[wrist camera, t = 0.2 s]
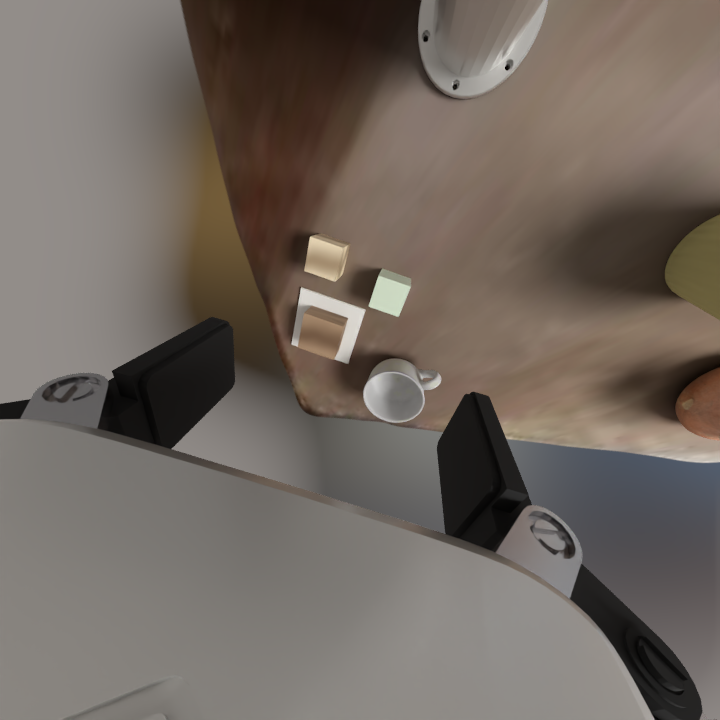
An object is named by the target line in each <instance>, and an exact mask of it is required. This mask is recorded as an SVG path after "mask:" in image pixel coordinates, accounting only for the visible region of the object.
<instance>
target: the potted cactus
mask: <svg viewBox="0 0 720 720" xmlns="http://www.w3.org/2000/svg"><path fill="white" fill-rule="evenodd" d="M665 280H666V283H667V285H668V287H669V288H670V289H671V290H672V292H674V293H676V294H677V295H678V296H680V297H681V298H683V299H685V300H687V301H688V302H690V303H692V304H693V305H695V306H697V307H698V308H700V309H702V310H704V311H705V312H707V313H709V314H710V315H712V316H714V317H715V318H717V319H719V320H720V215H717V216H715V217H713V218H711V219H709V220H707V221H706V222H704V223H702V224H701V225H699V226H698V227H696V228H695V229H694V230H692V231H691V232H690V233H689V234H688V235H687V236H686V237H684V238H683V240H682V241H681V242H680V243H679V244H678V245H677V246H676V248H675V249H674V251H673V252H672V254H671V255H670V257H669V259H668V262H667V264H666V268H665Z"/></svg>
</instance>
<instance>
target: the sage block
mask: <svg viewBox="0 0 720 720" xmlns="http://www.w3.org/2000/svg"><path fill="white" fill-rule="evenodd" d="M410 287H411V278H408V277H405V276H402V275H399V274H396V273H393V272H391V271H388V270H385V269H382V270H381V272H380V274H379V276H378V279H377V282H376V285H375V288H374V291H373V294H372V297H371V300H370V303H369V307H371V308H374V309H377V310H380V311H383V312H386V313H389V314H392V315H394V316H397V317H399V315H400V312H401V310H402V307H403V305H404V302H405V300H406V297H407V295H408V292H409V290H410Z"/></svg>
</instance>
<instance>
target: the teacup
mask: <svg viewBox="0 0 720 720" xmlns="http://www.w3.org/2000/svg"><path fill="white" fill-rule="evenodd" d="M428 377H432V378H433V379H432V380H430V381H427V382H424V381H423V379H422V378H428ZM440 382H441V376H440V374H439V373H438V372H437V371H435V370H421V369H420V370H418V369H417V368H416V367H415V366H414V365H413V364H411V363H410V362H408V361H406V360H402V359H387V360H385V361H382V362H380V363H379V364H378V365H377V366H375V368H374V369H373V370H372V372H371V374H370V376H369V378H368V381H367V383H366V385H365V387H364V390H363V397H364V402H365V404H366V407H367V408H368V409H369V410H370V412H371V413H373V414H374V415H375V416H376V417H378V418H380V419H382V420H385V421H389V422H397V423H398V422H406V421H409V420H411V419H413V418H414V417H416V416H417V415H418V414H419V413H420V412H421V411H422V409H423V406H424V390H430V389H433V388H436V387H437V386H438V385H439V384H440Z"/></svg>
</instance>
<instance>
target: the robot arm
mask: <svg viewBox="0 0 720 720" xmlns="http://www.w3.org/2000/svg"><path fill="white" fill-rule="evenodd" d="M547 4H548V0H421V5H420V10H419V22H418V43H419V50H420V56H421V60H422V63H423V67H424V69H425V71H426V73H427V75H428V77H429V79H430V80H431V81H432V83H433V84H434V85H435V86H436V88H438V89H439V90H440V91H442V92H443V93H444V94H446V95H448V96H451V97H453V98H459V99H470V98H476V97H479V96H481V95H484V94H487V93H488V92H490V91H492V90H493V89H495V88H497V87H498V86H499V85H500V84H502V83H503V82H504V81H505V80H506V79H507V78H508V77H509V76H510V75H511V74H512V73H513V72H514V71H515V69H516V68H517V67H518V66H519V65H520V63H521V62H522V60H523V59H524V58H525V56H526V55H527V53H528V51H529V50H530V48H531V46H532V44H533V43H534V41H535V39H536V36H537V34H538V32H539V30H540V27H541V25H542V22H543V19H544V15H545V12H546V9H547ZM426 37H427V38H428V41H427V42H424V41H423V40H424V38H426ZM505 66H509V70H508V71H506V70H505ZM454 85H456V86H457V89H456V90H453V88H452V87H453V86H454ZM112 373H113V375H114V378H112V379H111V380H109V381H108V380H107V379H106V378H105V377H104V376H102V375H99V374H94V373H78V374H72V375H66V376H63V377H59V378H56V379H54V380H51V381H49V382H47V383H45V384H44V385H42V386H41V387H39V388H38V389H37V390H36V391H35V393H34V394H33V396H32V398H31V399H29V400H23V401H16V402H10V403H4V404H0V720H709V719H708V718H707V717H706V716H705V714H704V713H703V712H702V705H701V699H700V696H699V694H698V692H697V689H696V687H695V684H694V682H693V681H692V679H691V677H690V676H689V674H688V672H687V670H686V669H685V667H684V666H683V665H682V663H681V662H680V661H679V659H678V658H677V657H676V655H675V654H674V653H673V651H672V650H671V649H670V648H669V647H668V646H667V645H666V644H665V643H664V642H663V641H662V640H661V639H660V638H659V637H658V636H657V635H656V634H655V633H654V632H653V631H652V630H651V629H650V628H649V627H648V626H647V625H646V624H645V623H644V622H643V621H641V620H640V619H639V618H638V617H637V616H636V615H635V614H634V613H633V612H632V611H631V610H630V609H629V608H628V607H627V606H625V605H624V603H622V602H621V601H620V600H619V599H618V598H617V597H616V596H615V595H614V594H613V593H612V592H611V591H610V590H609V589H608V588H607V587H605V585H603V584H602V583H601V582H600V581H599V580H598V579H597V578H596V577H595V576H594V575H593V574H592V573H591V572H590V571H589V570H588V569H587V568H586V567H584V566H583V565H582V564H581V562H582V549H581V546H580V544H579V541H578V540H577V538H576V536H575V534H574V533H573V532H572V530H571V529H570V528H569V527H568V525H567V524H566V523H564V522H563V521H562V520H561V519H560V518H559V517H558V516H556V515H555V514H554V513H552V512H551V511H549V510H547V509H545V508H543V507H540V506H536V505H532V504H531V501H530V499H529V496H528V492H527V490H526V487H525V485H524V482H523V480H522V477H521V475H520V472H519V470H518V467H517V465H516V463H515V460H514V457H513V455H512V452H511V450H510V447H509V445H508V443H507V440H506V438H505V435H504V433H503V430H502V428H501V425H500V423H499V420H498V418H497V415H496V413H495V410H494V408H493V405H492V403H491V400H490V398H489V396H486V395H483V394H479V393H476V392H471V393H470V394H465V395H464V397H463V399H462V400H461V402H460V404H459V406H458V407H457V409H456V411H455V413H454V415H453V416H452V418H451V420H450V422H449V423H448V425H447V427H446V429H445V431H444V432H443V434H442V436H441V438H440V440H439V442H438V445H437V454H438V464H439V474H440V484H441V494H442V504H443V513H444V525H445V533H446V534H443V533H440V532H437V531H434V530H431V529H428V528H425V527H422V526H419V525H416V524H413V523H410V522H407V521H403V520H400V519H397V518H394V517H390V516H387V515H384V514H381V513H378V512H375V511H371V510H368V509H365V508H362V507H358V506H355V505H352V504H349V503H346V502H342V501H339V500H336V499H333V498H330V497H326V496H323V495H320V494H317V493H313V492H310V491H307V490H303V489H300V488H297V487H294V486H291V485H287V484H284V483H281V482H278V481H274V480H271V479H268V478H265V477H261V476H257V475H255V474H251V473H248V472H245V471H242V470H238V469H235V468H232V467H228V466H225V465H222V464H218V463H215V462H212V461H208V460H205V459H202V458H198V457H195V456H192V455H189V454H185V453H181V452H179V451H175V450H172V449H171V448H172V447H174V446H175V445H176V444H177V443H178V442H179V441H180V440H181V439H182V438H183V436H185V434H186V433H188V432H189V431H190V430H191V428H193V427H194V426H195V425H196V424H197V423H198V421H200V420H201V419H202V418H203V417H204V416H205V415H206V413H208V412H209V411H210V410H211V409H212V408H213V407H214V406H215V405H216V404H217V403H218V402H219V401H220V400H221V398H223V397H224V396H225V395H226V394H227V393H228V392H229V391H230V390H231V389H232V387H233V385H234V382H235V372H234V345H233V329H232V327H231V326H230V325H229V323H228V322H227V321H224V320H221V319H218V318H214V317H211V318H209V319H207V320H205V321H203V322H201V323H199V324H198V325H196V326H194V327H192V328H190V329H188V330H186V331H185V332H183V333H181V334H179V335H178V336H176V337H173V338H172V339H170V340H168V341H166V342H164V343H162V344H161V345H159V346H157V347H155V348H153V349H151V350H150V351H148V352H146V353H144V354H142V355H140V356H138V357H137V358H135V359H133V360H131V361H129V362H127V363H126V364H124V365H122V366H120V367H118V368H116V369H115V370H113V371H112ZM714 720H717V719H714Z"/></svg>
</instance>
